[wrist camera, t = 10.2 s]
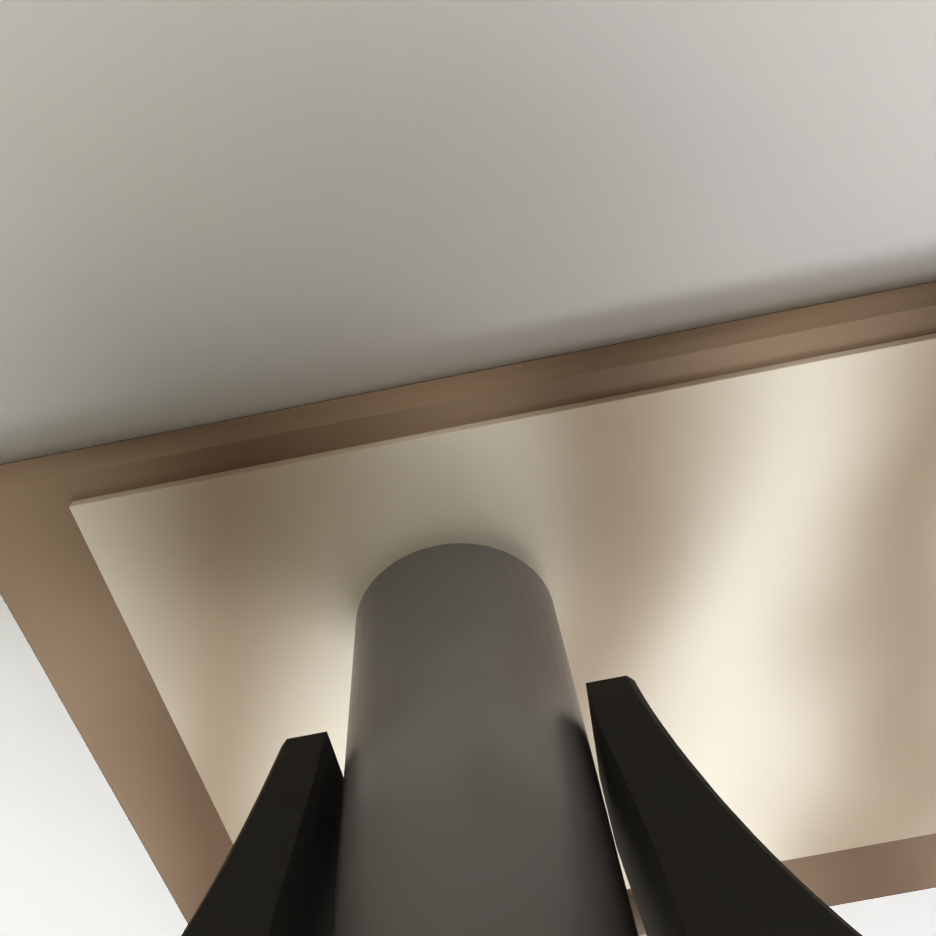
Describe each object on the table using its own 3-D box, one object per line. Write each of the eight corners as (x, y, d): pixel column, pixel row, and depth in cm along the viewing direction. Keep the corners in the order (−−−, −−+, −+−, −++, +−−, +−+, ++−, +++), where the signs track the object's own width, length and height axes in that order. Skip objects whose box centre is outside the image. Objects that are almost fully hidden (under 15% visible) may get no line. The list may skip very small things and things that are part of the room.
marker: (546, 520, 14) (729, 1158, 6) (571, 686, 16) (736, 1342, 8) (326, 560, 14) (231, 1241, 6) (376, 720, 16) (350, 1403, 8)
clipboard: (1082, 253, 15) (1174, 285, 13) (975, 841, 22) (1024, 912, 21) (-28, 470, 15) (-84, 530, 13) (244, 974, 23) (231, 1053, 21)
